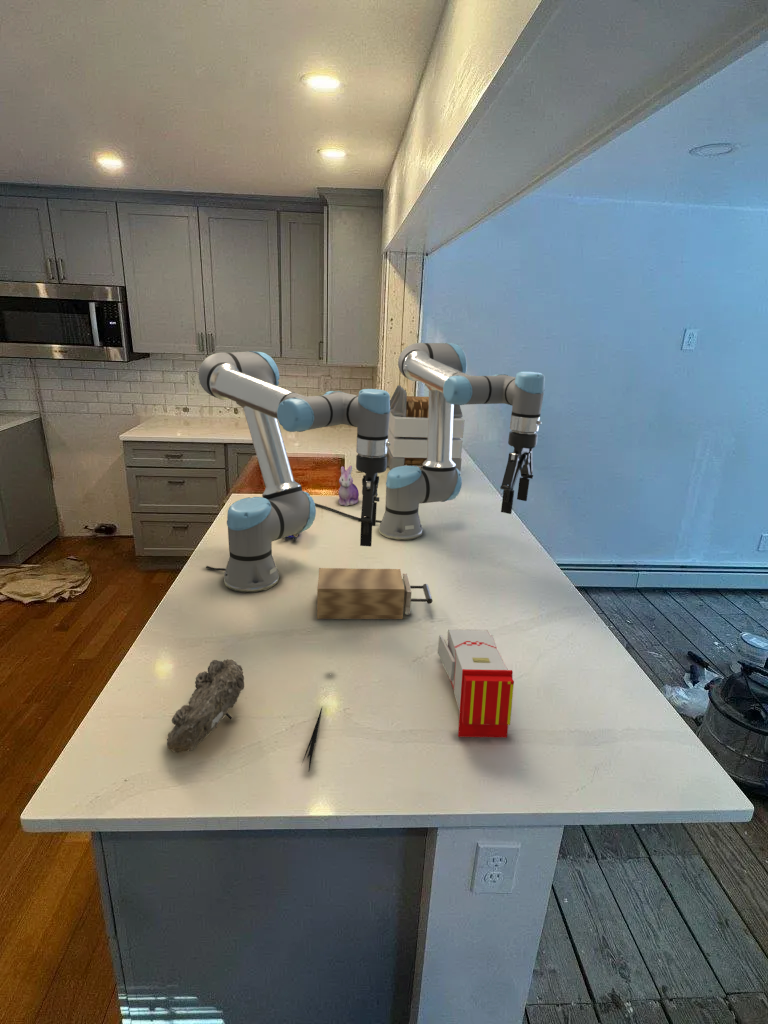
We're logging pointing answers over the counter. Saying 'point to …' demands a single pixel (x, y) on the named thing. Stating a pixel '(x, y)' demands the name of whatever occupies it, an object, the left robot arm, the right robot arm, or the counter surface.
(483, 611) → the counter surface
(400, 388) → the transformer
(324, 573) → the cabinet
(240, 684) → the fossil
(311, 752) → the feather
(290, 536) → the figurine character
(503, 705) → the toy
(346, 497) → the figurine
